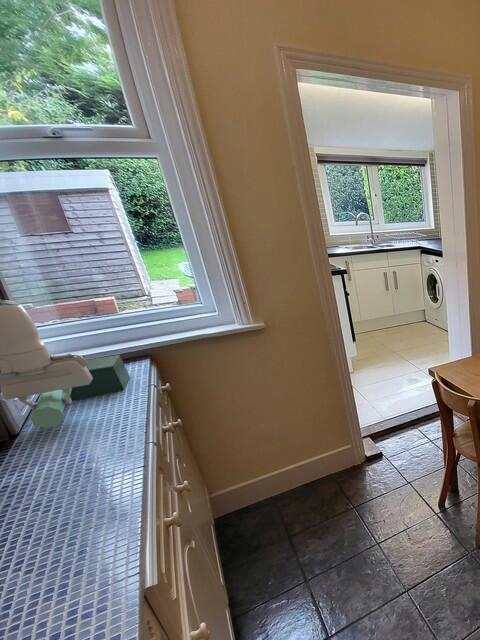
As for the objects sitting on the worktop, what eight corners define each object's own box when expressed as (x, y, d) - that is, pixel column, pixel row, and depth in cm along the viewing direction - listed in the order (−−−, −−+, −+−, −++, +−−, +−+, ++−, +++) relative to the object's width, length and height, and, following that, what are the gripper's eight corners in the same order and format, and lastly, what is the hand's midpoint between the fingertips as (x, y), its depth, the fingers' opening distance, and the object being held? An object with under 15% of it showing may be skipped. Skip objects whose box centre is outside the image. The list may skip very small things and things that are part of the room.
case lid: (47, 379, 125) (45, 376, 125) (59, 366, 135) (58, 364, 135) (113, 368, 133) (112, 365, 133) (120, 356, 143) (119, 354, 143)
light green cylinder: (40, 380, 121) (30, 406, 104) (69, 382, 125) (65, 407, 108) (38, 400, 122) (28, 428, 105) (67, 401, 126) (63, 428, 109)
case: (64, 402, 129) (51, 380, 126) (74, 388, 139) (63, 367, 136) (124, 390, 136) (113, 368, 133) (130, 377, 146) (120, 357, 143)
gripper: (83, 349, 117) (104, 392, 123) (-24, 365, 107) (5, 412, 112) (77, 355, 112) (99, 400, 118) (-35, 372, 102) (-4, 421, 108)
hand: (52, 406), depth 115 cm, fingers closed on light green cylinder, 5 cm apart
